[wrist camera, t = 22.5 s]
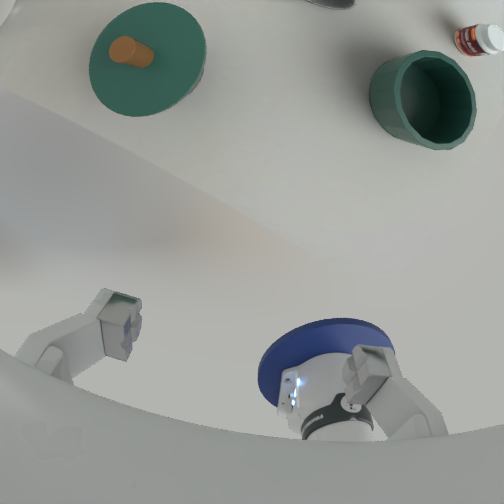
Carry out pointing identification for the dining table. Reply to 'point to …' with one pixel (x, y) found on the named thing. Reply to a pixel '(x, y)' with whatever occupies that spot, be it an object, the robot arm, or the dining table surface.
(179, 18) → the tin lid
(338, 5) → the ceramic mug
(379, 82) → the tin
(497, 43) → the pill bottle
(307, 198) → the dining table surface
